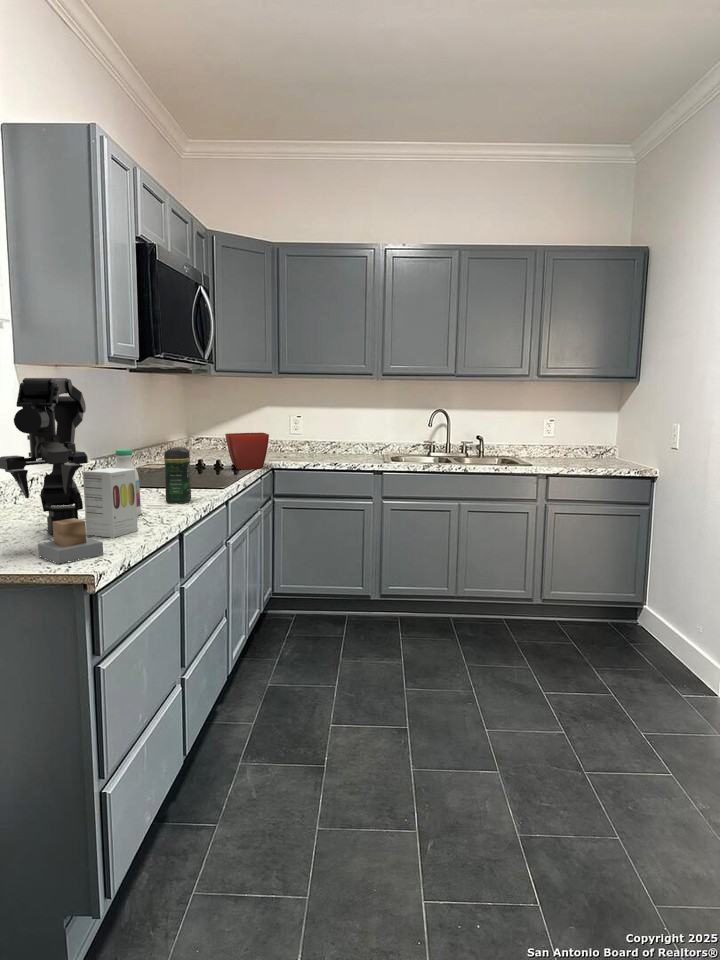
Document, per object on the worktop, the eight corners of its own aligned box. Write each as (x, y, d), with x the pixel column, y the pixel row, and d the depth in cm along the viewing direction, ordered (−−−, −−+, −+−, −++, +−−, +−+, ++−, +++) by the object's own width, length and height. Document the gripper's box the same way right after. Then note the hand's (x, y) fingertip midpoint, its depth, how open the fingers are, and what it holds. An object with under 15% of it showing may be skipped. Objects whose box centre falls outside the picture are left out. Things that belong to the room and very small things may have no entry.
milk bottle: (110, 515, 189) (106, 449, 186) (135, 512, 194) (132, 447, 191) (119, 519, 183) (115, 451, 180) (145, 515, 188) (141, 449, 185)
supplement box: (113, 538, 159) (109, 472, 156) (85, 535, 162) (80, 471, 160) (139, 530, 167) (135, 468, 165) (112, 528, 171) (108, 466, 169)
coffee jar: (187, 504, 208) (185, 448, 205) (163, 504, 207) (160, 448, 205) (194, 499, 217) (191, 445, 215) (171, 499, 217) (168, 446, 214)
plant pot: (226, 466, 314) (225, 433, 311) (264, 465, 319) (263, 432, 317) (230, 471, 296) (228, 435, 293) (270, 469, 301) (269, 434, 299)
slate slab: (82, 548, 149) (81, 535, 148) (103, 555, 142) (102, 542, 142) (38, 556, 141) (37, 543, 141) (59, 564, 135) (58, 550, 134)
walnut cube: (75, 539, 145) (74, 518, 144) (86, 542, 141) (85, 520, 141) (53, 543, 141) (52, 521, 140) (64, 546, 138) (62, 524, 137)
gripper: (14, 434, 137) (20, 504, 139) (96, 430, 151) (100, 494, 153) (-6, 432, 144) (0, 499, 146) (75, 428, 158) (79, 489, 160)
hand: (47, 495), depth 151 cm, fingers open, 9 cm apart
